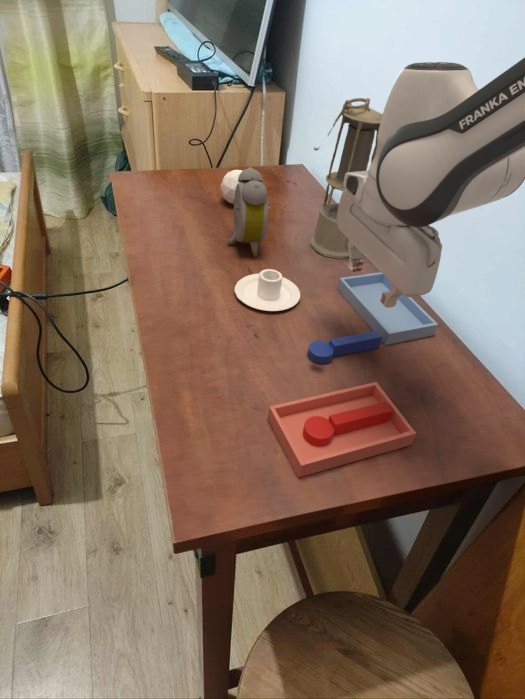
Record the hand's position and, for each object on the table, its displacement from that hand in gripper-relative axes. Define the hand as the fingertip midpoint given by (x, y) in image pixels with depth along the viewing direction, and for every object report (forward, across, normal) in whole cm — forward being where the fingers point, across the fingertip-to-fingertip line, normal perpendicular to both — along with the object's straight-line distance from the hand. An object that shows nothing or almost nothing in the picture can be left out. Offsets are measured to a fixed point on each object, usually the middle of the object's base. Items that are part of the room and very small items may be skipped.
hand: (370, 286), depth 76 cm
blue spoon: (+12, 0, +2) cm, 13 cm away
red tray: (+12, -15, +11) cm, 22 cm away
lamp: (+13, +32, -12) cm, 37 cm away
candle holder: (+13, +18, +8) cm, 23 cm away
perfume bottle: (+13, +57, 0) cm, 58 cm away
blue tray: (+12, +8, -11) cm, 19 cm away
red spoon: (+12, -15, +10) cm, 21 cm away
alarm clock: (+13, +36, +6) cm, 39 cm away
